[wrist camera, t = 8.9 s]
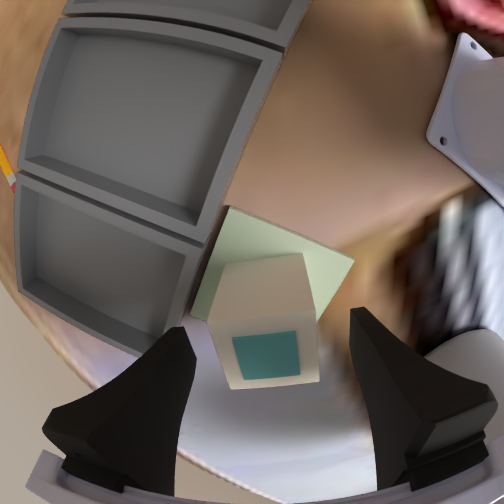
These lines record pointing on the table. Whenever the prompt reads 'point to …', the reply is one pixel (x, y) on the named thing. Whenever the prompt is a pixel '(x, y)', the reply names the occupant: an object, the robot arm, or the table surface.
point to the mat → (270, 245)
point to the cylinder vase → (477, 369)
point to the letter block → (265, 323)
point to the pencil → (7, 170)
